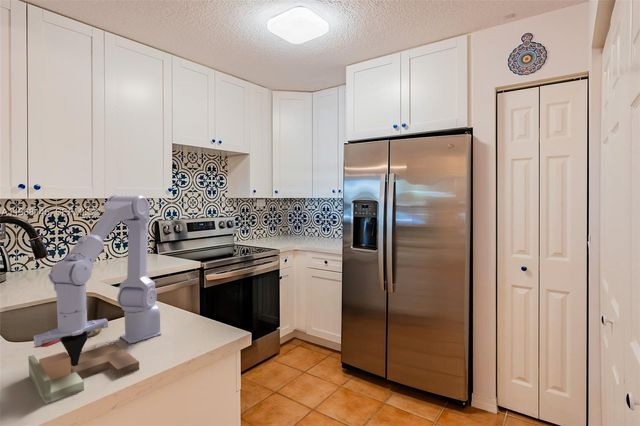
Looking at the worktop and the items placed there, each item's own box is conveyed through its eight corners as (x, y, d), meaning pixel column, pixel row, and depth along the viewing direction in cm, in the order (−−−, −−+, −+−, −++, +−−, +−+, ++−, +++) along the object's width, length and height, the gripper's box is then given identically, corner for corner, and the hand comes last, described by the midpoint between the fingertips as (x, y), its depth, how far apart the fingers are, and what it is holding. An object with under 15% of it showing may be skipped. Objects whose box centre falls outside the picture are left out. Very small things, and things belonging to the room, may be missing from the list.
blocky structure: (115, 349, 98) (114, 332, 98) (139, 369, 87) (138, 350, 87) (29, 376, 84) (28, 356, 83) (45, 403, 73) (44, 381, 73)
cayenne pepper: (31, 351, 98) (30, 345, 97) (30, 346, 101) (30, 339, 101) (82, 340, 106) (82, 333, 105) (80, 335, 109) (79, 329, 109)
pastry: (85, 327, 114) (85, 315, 114) (108, 325, 116) (107, 314, 116) (72, 338, 105) (71, 326, 105) (96, 337, 107) (96, 325, 106)
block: (65, 367, 84) (65, 351, 84) (71, 373, 81) (70, 357, 81) (39, 375, 80) (39, 359, 80) (44, 382, 78) (43, 365, 77)
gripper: (37, 322, 75) (40, 382, 76) (111, 306, 86) (113, 358, 87) (30, 314, 79) (33, 371, 80) (101, 300, 90) (103, 350, 91)
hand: (74, 364), depth 84 cm, fingers closed
